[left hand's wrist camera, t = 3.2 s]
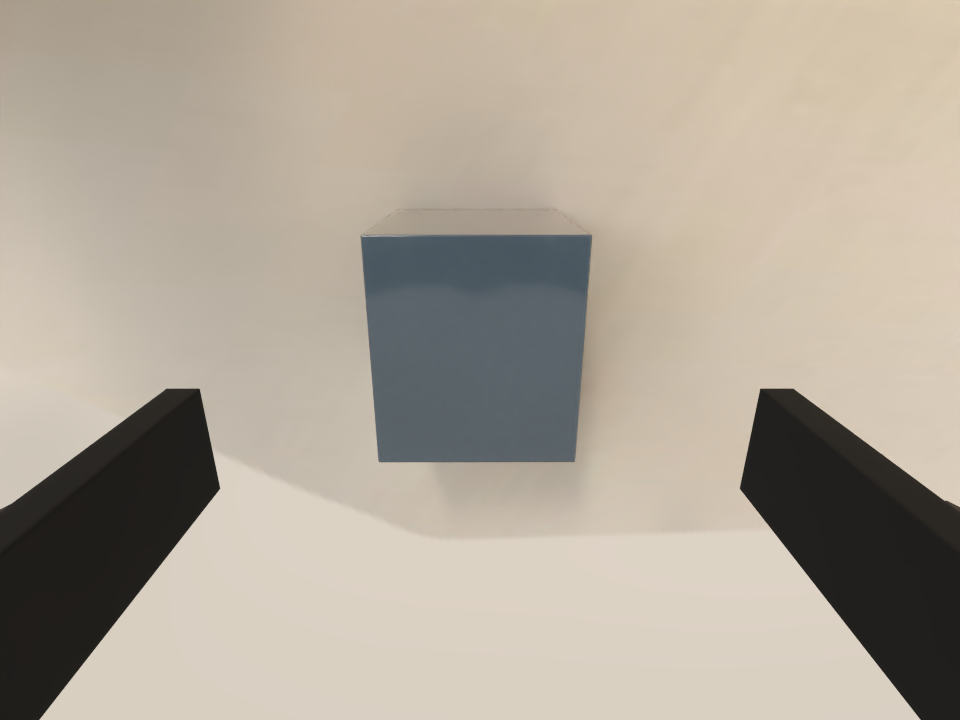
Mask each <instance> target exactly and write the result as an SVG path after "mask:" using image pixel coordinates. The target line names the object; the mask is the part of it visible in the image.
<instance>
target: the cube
mask: <svg viewBox="0 0 960 720" xmlns="http://www.w3.org/2000/svg"><path fill="white" fill-rule="evenodd" d="M591 244H592V235H591V234H589V233H588V232H586V231H585V230H584V229H582V228H581V227H580V226H578V225H577V224H575V223H574V222H573V221H571V220H570V219H569V218H567V217H566V216H564V215H563V214H562V213H560V212H559V211H558V210H556V209H398V210H396V211H395V212H393V213H392V214H391V215H389V216H388V217H386V218H385V219H383V220H382V221H381V222H379V223H378V224H376V225H375V226H373V227H372V228H371V229H369V230H368V231H366V232H365V233H364V234H362V235H361V247H362V260H363V272H364V285H365V297H366V310H367V322H368V335H369V347H370V360H371V373H372V385H373V398H374V410H375V423H376V435H377V448H378V460H379V462H575V455H576V442H577V429H578V415H579V402H580V389H581V376H582V362H583V349H584V336H585V323H586V310H587V296H588V283H589V270H590V257H591Z"/></svg>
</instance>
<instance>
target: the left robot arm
mask: <svg viewBox="0 0 960 720" xmlns="http://www.w3.org/2000/svg"><path fill="white" fill-rule="evenodd" d="M219 489H220V486H219V481H218V476H217V471H216V466H215V461H214V457H213V452H212V447H211V442H210V437H209V432H208V427H207V423H206V418H205V413H204V408H203V403H202V398H201V393H200V389H166V390H164V391H163V392H162V393H160V394H159V395H158V396H156V397H155V398H154V399H152V400H151V401H150V402H148V403H147V404H146V405H144V406H143V407H142V408H140V409H139V410H138V411H136V412H135V413H133V414H132V415H131V416H129V417H128V418H127V419H125V420H124V421H123V422H121V423H120V424H119V425H117V426H116V427H115V428H113V429H112V430H111V431H109V432H108V433H107V434H105V435H104V436H102V437H101V438H100V439H98V440H97V441H96V442H94V443H93V444H92V445H90V446H89V447H88V448H86V449H85V450H84V451H82V452H81V453H80V454H78V455H77V456H75V457H74V458H73V459H71V460H70V461H69V462H67V463H66V464H65V465H63V466H62V467H61V468H59V469H58V470H57V471H55V472H54V473H53V474H51V475H50V476H48V477H47V478H46V479H44V480H43V481H42V482H40V483H39V484H38V485H36V486H35V487H34V488H32V489H31V490H30V491H28V492H27V493H26V494H24V495H23V496H22V497H20V498H19V499H17V500H16V501H15V502H13V503H12V504H10V505H8V506H6V507H4V508H2V509H0V720H39V719H40V718H41V717H42V716H43V714H44V713H45V712H46V710H47V709H48V708H49V707H50V705H51V704H52V703H53V702H54V700H55V699H56V698H57V696H58V695H59V694H60V693H61V691H62V690H63V689H64V687H65V686H66V685H67V684H68V682H69V681H70V680H71V678H72V677H73V676H74V675H75V673H76V672H77V671H78V670H79V668H80V667H81V666H82V664H83V663H84V662H85V661H86V659H87V658H88V657H89V656H90V654H91V653H92V652H93V650H94V649H95V648H96V647H97V645H98V644H99V643H100V641H101V640H102V639H103V638H104V636H105V635H106V634H107V633H108V631H109V630H110V629H111V627H112V626H113V625H114V624H115V622H116V621H117V620H118V618H119V617H120V616H121V615H122V613H123V612H124V611H125V610H126V608H127V607H128V606H129V604H130V603H131V602H132V600H133V599H134V598H135V597H136V595H137V594H138V593H139V592H140V590H141V589H142V588H143V587H144V585H145V584H146V583H147V581H148V580H149V579H150V578H151V576H152V575H153V574H154V572H155V571H156V570H157V569H158V567H159V566H160V565H161V564H162V562H163V561H164V560H165V558H166V557H167V556H168V555H169V553H170V552H171V551H172V549H173V548H174V547H175V546H176V544H177V543H178V542H179V540H180V539H181V538H182V537H183V535H184V534H185V533H186V532H187V530H188V529H189V528H190V526H191V525H192V524H193V523H194V521H195V520H196V519H197V517H198V516H199V515H200V514H201V512H202V511H203V510H204V509H205V507H206V506H207V505H208V503H209V502H210V501H211V500H212V498H213V497H214V496H215V495H216V493H217V492H218V491H219ZM740 489H741V491H742V492H743V493H744V495H745V496H746V497H747V498H748V500H749V501H750V502H751V503H752V505H753V506H754V507H755V509H756V510H757V511H758V512H759V514H760V515H761V516H762V518H763V519H764V520H765V521H766V523H767V524H768V525H769V526H770V528H771V529H772V530H773V532H774V533H775V534H776V535H777V537H778V538H779V539H780V541H781V542H782V543H783V544H784V546H785V547H786V548H787V549H788V551H789V552H790V553H791V555H792V556H793V557H794V558H795V560H796V561H797V562H798V564H799V565H800V566H801V567H802V569H803V570H804V571H805V572H806V574H807V575H808V576H809V578H810V579H811V580H812V581H813V583H814V584H815V585H816V587H817V588H818V589H819V590H820V592H821V593H822V594H823V595H824V597H825V598H826V599H827V601H828V602H829V603H830V604H831V606H832V607H833V608H834V610H835V611H836V612H837V613H838V615H839V616H840V617H841V618H842V620H843V621H844V622H845V624H846V625H847V626H848V627H849V629H850V630H851V631H852V633H853V634H854V635H855V636H856V638H857V639H858V640H859V641H860V643H861V644H862V645H863V647H864V648H865V649H866V650H867V652H868V653H869V654H870V655H871V657H872V658H873V659H874V661H875V662H876V663H877V664H878V666H879V667H880V668H881V670H882V671H883V672H884V673H885V675H886V676H887V677H888V679H889V680H890V681H891V682H892V684H893V685H894V686H895V687H896V689H897V690H898V691H899V693H900V694H901V695H902V696H903V698H904V699H905V700H906V702H907V703H908V704H909V705H910V707H911V708H912V709H913V710H914V712H915V713H916V714H917V716H918V717H919V718H920V719H921V720H960V507H958V506H956V505H954V504H952V503H950V502H948V501H944V500H943V499H941V498H940V497H938V496H937V495H936V494H934V493H933V492H932V491H930V490H929V489H928V488H926V487H925V486H924V485H922V484H921V483H920V482H918V481H917V480H916V479H914V478H913V477H912V476H910V475H909V474H907V473H906V472H905V471H903V470H902V469H901V468H899V467H898V466H897V465H895V464H894V463H893V462H891V461H890V460H889V459H887V458H886V457H885V456H883V455H882V454H880V453H879V452H878V451H876V450H875V449H874V448H872V447H871V446H870V445H868V444H867V443H866V442H864V441H863V440H862V439H860V438H859V437H858V436H856V435H855V434H854V433H852V432H851V431H849V430H848V429H847V428H845V427H844V426H843V425H841V424H840V423H839V422H837V421H836V420H835V419H833V418H832V417H831V416H829V415H828V414H827V413H825V412H824V411H822V410H821V409H820V408H818V407H817V406H816V405H814V404H813V403H812V402H810V401H809V400H808V399H806V398H805V397H804V396H802V395H801V394H800V393H798V392H797V391H796V390H794V389H760V393H759V398H758V403H757V408H756V413H755V418H754V423H753V427H752V432H751V437H750V442H749V447H748V452H747V456H746V461H745V466H744V471H743V476H742V481H741V486H740Z"/></svg>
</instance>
